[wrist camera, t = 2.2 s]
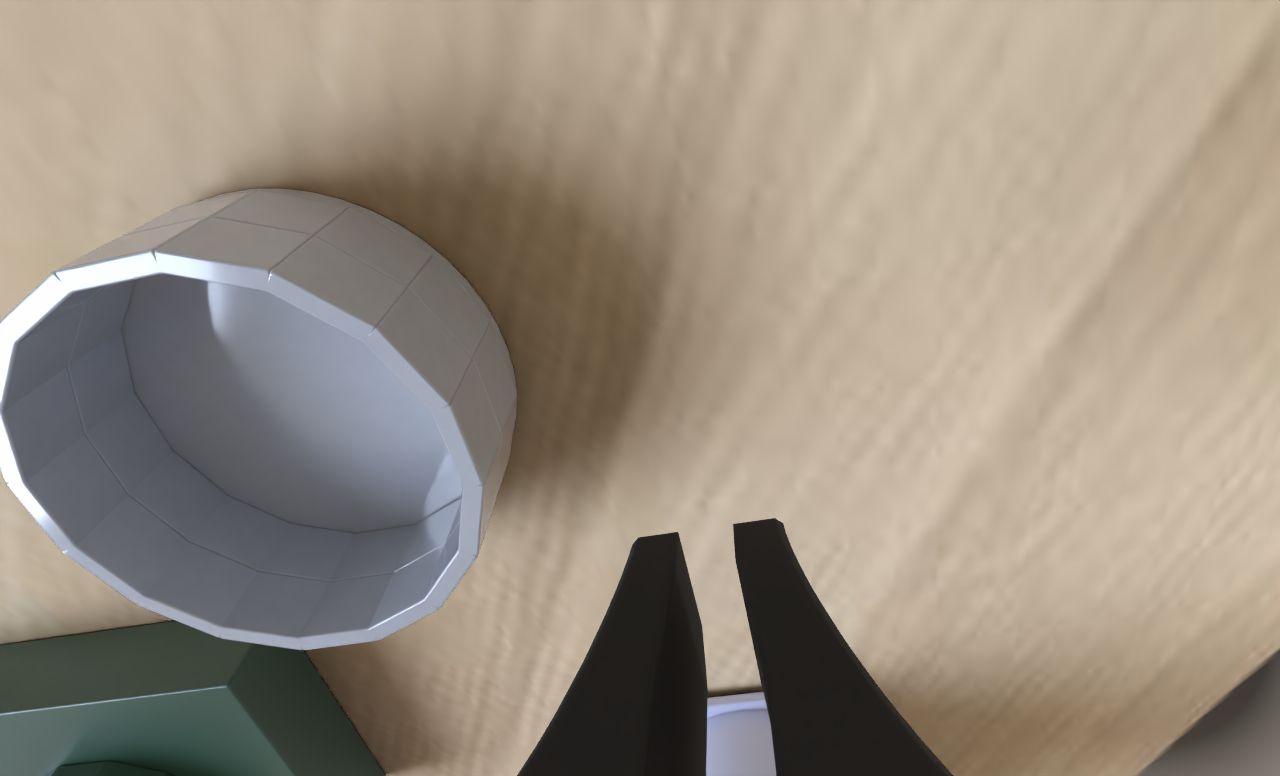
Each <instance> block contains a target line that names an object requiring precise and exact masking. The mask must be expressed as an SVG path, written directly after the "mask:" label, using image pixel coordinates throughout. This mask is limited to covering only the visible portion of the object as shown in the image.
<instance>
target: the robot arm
mask: <svg viewBox="0 0 1280 776" xmlns="http://www.w3.org/2000/svg"><path fill="white" fill-rule="evenodd" d="M733 527H734V544H735V558H736V564H737V569H738V573H739V578H740V583H741V588H742V593H743V597H744V602H745V607H746V612H747V617H748V621H749V626H750V631H751V636H752V641H753V645H754V650H755V655H756V660H757V665H758V669H759V674H760V679H761V684H762V688H763V692H756V693H747V694H738V695H729V696H720V697H711V698H708V690H707V678H706V665H705V654H704V643H703V632H702V624H701V620H700V616H699V612H698V609H697V605H696V601H695V597H694V593H693V589H692V585H691V581H690V577H689V573H688V569H687V565H686V561H685V558H684V554H683V550H682V546H681V542H680V538H679V534H678V532H675V533H668V534H661V535H654V536H647V537H640V538H638V539H637V540H636V541H635V542H634V544H633V545H632V548H631V551H630V554H629V557H628V560H627V563H626V566H625V568H624V571H623V574H622V576H621V579H620V581H619V584H618V586H617V589H616V591H615V594H614V596H613V598H612V601H611V603H610V606H609V608H608V610H607V613H606V615H605V617H604V619H603V621H602V623H601V626H600V628H599V630H598V632H597V634H596V636H595V638H594V641H593V643H592V645H591V647H590V649H589V651H588V653H587V655H586V657H585V660H584V661H583V663H582V665H581V667H580V669H579V671H578V673H577V675H576V677H575V679H574V680H573V682H572V684H571V686H570V688H569V690H568V692H567V693H566V695H565V697H564V699H563V701H562V703H561V705H560V706H559V708H558V710H557V712H556V714H555V715H554V717H553V719H552V721H551V722H550V724H549V726H548V727H547V729H546V731H545V732H544V734H543V736H542V737H541V739H540V741H539V742H538V744H537V746H536V747H535V749H534V750H533V752H532V754H531V755H530V757H529V758H528V760H527V761H526V763H525V764H524V766H523V768H522V769H521V771H520V772H519V774H518V775H517V776H953V775H952V774H951V773H950V772H949V770H948V769H947V768H946V767H945V766H944V765H943V764H942V763H941V761H940V760H939V759H938V758H937V757H936V756H935V755H934V754H933V752H932V751H931V750H930V749H929V748H928V747H927V746H926V745H925V743H924V742H923V741H922V740H921V739H920V737H919V736H918V735H917V734H916V733H915V731H914V730H913V729H912V728H911V727H910V725H909V724H908V723H907V722H906V721H905V720H904V718H903V717H902V716H901V715H900V713H899V712H898V711H897V710H896V708H895V707H894V706H893V705H892V703H891V702H890V701H889V700H888V698H887V697H886V696H885V695H884V693H883V692H882V691H881V689H880V688H879V687H878V685H877V684H876V683H875V681H874V680H873V679H872V677H871V676H870V675H869V673H868V672H867V671H866V669H865V668H864V666H863V665H862V664H861V662H860V661H859V660H858V658H857V657H856V655H855V654H854V653H853V651H852V650H851V648H850V647H849V645H848V644H847V642H846V641H845V639H844V638H843V637H842V635H841V634H840V632H839V630H838V629H837V627H836V626H835V624H834V623H833V621H832V619H831V618H830V616H829V615H828V613H827V612H826V610H825V608H824V607H823V605H822V604H821V602H820V601H819V599H818V597H817V595H816V594H815V592H814V590H813V589H812V587H811V585H810V583H809V581H808V580H807V578H806V576H805V574H804V572H803V570H802V568H801V566H800V565H799V562H798V560H797V558H796V556H795V554H794V552H793V550H792V547H791V545H790V543H789V540H788V537H787V535H786V532H785V529H784V525H783V523H782V522H780V521H778V520H777V519H775V518H773V519H766V520H759V521H752V522H745V523H738V524H733Z"/></svg>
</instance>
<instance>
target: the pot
mask: <svg viewBox="0 0 1280 776" xmlns="http://www.w3.org/2000/svg"><path fill="white" fill-rule="evenodd" d="M516 413H517V391H516V383H515V375H514V370H513V366H512V363H511V359H510V355H509V352H508V349H507V346H506V344H505V342H504V339H503V337H502V334H501V332H500V330H499V327H498V325H497V324H496V322H495V320H494V319H493V317H492V315H491V314H490V312H489V310H488V308H487V307H486V305H485V303H484V302H483V301H482V299H481V298H480V297H479V295H478V294H477V293H476V291H475V290H474V289H473V288H472V286H471V285H470V284H469V282H468V281H467V280H466V279H465V278H464V277H463V276H462V275H461V274H460V273H459V272H458V271H457V270H456V269H455V268H454V267H453V265H452V264H451V263H450V262H449V261H448V260H447V259H445V258H444V257H443V256H442V255H440V254H439V253H438V252H437V251H436V250H434V249H433V248H432V247H431V246H430V245H428V244H427V243H426V242H425V241H423V240H422V239H420V238H419V237H417V236H416V235H414V234H413V233H411V232H410V231H408V230H406V229H405V228H403V227H402V226H400V225H399V224H397V223H395V222H393V221H391V220H389V219H387V218H385V217H383V216H381V215H379V214H377V213H375V212H373V211H371V210H369V209H366V208H363V207H361V206H358V205H355V204H353V203H350V202H347V201H344V200H342V199H338V198H334V197H330V196H325V195H321V194H317V193H313V192H307V191H298V190H290V189H249V190H242V191H235V192H229V193H224V194H220V195H217V196H214V197H211V198H208V199H204V200H201V201H199V202H197V203H195V204H190V205H186V206H181V207H177V208H174V209H172V210H170V211H169V212H167V213H165V214H163V215H161V216H159V217H157V218H155V219H153V220H151V221H149V222H147V223H146V224H144V225H142V226H140V227H138V228H136V229H134V230H132V231H130V232H128V233H126V234H124V235H122V236H121V237H119V238H117V239H115V240H113V241H111V242H109V243H107V244H105V245H103V246H101V247H99V248H97V249H96V250H94V251H92V252H90V253H88V254H86V255H84V256H82V257H80V258H78V259H76V260H74V261H72V262H71V263H69V264H67V265H65V266H63V267H61V268H59V269H57V270H55V271H53V272H52V273H51V274H50V275H49V276H48V277H47V278H46V279H45V280H43V281H42V282H41V283H40V284H39V285H38V286H37V287H36V288H35V289H34V290H33V291H32V292H31V293H29V294H28V295H27V296H26V297H25V298H24V299H23V300H22V301H21V302H20V303H19V304H18V305H17V306H16V307H14V308H13V309H12V310H11V311H10V312H9V313H8V314H7V315H6V316H5V317H4V318H3V319H2V320H1V321H0V470H1V473H2V476H3V479H4V481H5V482H6V485H7V486H8V487H9V488H10V490H11V491H12V492H13V493H14V495H15V496H16V497H17V498H18V499H19V501H20V502H21V503H22V504H23V506H24V507H25V508H26V509H27V510H28V512H29V513H30V514H31V515H32V517H33V518H34V519H35V520H36V521H37V523H38V524H39V525H40V526H41V528H42V529H43V530H44V531H45V532H46V534H47V535H48V536H49V537H50V539H51V540H52V541H53V542H54V543H55V545H56V546H57V547H58V548H59V550H61V551H63V553H64V554H65V555H66V556H68V557H69V558H71V559H72V560H74V561H75V562H76V563H78V564H79V565H81V566H82V567H83V568H85V569H86V570H88V571H89V572H91V573H92V574H93V575H95V576H96V577H98V578H99V579H100V580H102V581H103V582H105V583H106V584H108V585H109V586H110V587H112V588H113V589H115V590H116V591H117V592H119V593H120V594H122V595H123V596H124V597H126V598H127V599H129V600H130V601H132V602H133V603H134V604H138V606H140V607H143V608H145V609H148V610H150V611H153V612H155V613H158V614H160V615H163V616H165V617H168V618H170V619H173V620H175V621H178V622H180V623H183V624H185V625H188V626H190V627H193V628H195V629H198V630H200V631H203V632H205V633H208V634H210V635H213V636H215V637H218V638H219V637H220V638H222V639H227V640H234V641H241V642H248V643H255V644H261V645H268V646H275V647H282V648H289V649H296V650H311V649H319V648H327V647H334V646H342V645H350V644H358V643H365V642H373V641H378V640H381V639H383V638H385V637H387V636H389V635H391V634H393V633H395V632H397V631H398V630H400V629H402V628H404V627H406V626H408V625H410V624H412V623H414V622H416V621H418V620H420V619H421V618H423V617H425V616H427V615H429V614H431V613H433V612H435V611H437V610H438V609H439V608H441V607H442V606H443V604H444V603H445V601H446V600H447V599H448V597H449V596H450V594H451V593H452V592H453V590H454V589H455V587H456V586H457V585H458V583H459V582H460V580H461V579H462V578H463V576H464V575H465V573H466V572H467V571H468V569H469V568H470V567H471V565H472V564H473V562H474V561H475V560H476V558H477V557H478V554H479V551H480V548H481V545H482V542H483V539H484V536H485V533H486V529H487V526H488V523H489V520H490V517H491V514H492V511H493V507H494V504H495V500H496V498H497V495H498V492H499V489H500V486H501V482H502V479H503V476H504V473H505V470H506V467H507V464H508V460H509V457H510V451H511V442H512V437H513V432H514V426H515V421H516Z"/></svg>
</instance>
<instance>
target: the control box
mask: <svg viewBox="0 0 1280 776" xmlns="http://www.w3.org/2000/svg"><path fill="white" fill-rule="evenodd" d="M0 776H385V774H384V772H383V771H382V769H381V768H380V766H379V765H378V763H377V762H376V760H375V759H374V757H373V755H372V754H371V752H370V751H369V749H368V748H367V746H366V745H365V743H364V742H363V740H362V739H361V737H360V736H359V734H358V733H357V731H356V730H355V728H354V727H353V725H352V724H351V722H350V721H349V719H348V717H347V716H346V714H345V713H344V711H343V710H342V708H341V707H340V705H339V704H338V702H337V701H336V699H335V698H334V696H333V695H332V693H331V692H330V690H329V689H328V687H327V686H326V684H325V683H324V681H323V679H322V678H321V676H320V675H319V673H318V672H317V670H316V669H315V667H314V666H313V664H312V663H311V661H310V660H309V658H308V657H307V655H306V654H305V652H304V651H303V650H296V649H289V648H282V647H275V646H268V645H261V644H255V643H248V642H241V641H234V640H227V639H222V638H220V637H219V638H218V637H215V636H213V635H210V634H208V633H205V632H203V631H200V630H198V629H195V628H193V627H190V626H188V625H185V624H183V623H180V622H178V621H172V622H165V623H158V624H150V625H143V626H136V627H129V628H122V629H114V630H107V631H100V632H93V633H85V634H78V635H71V636H64V637H57V638H49V639H42V640H35V641H28V642H21V643H13V644H6V645H0Z"/></svg>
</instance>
